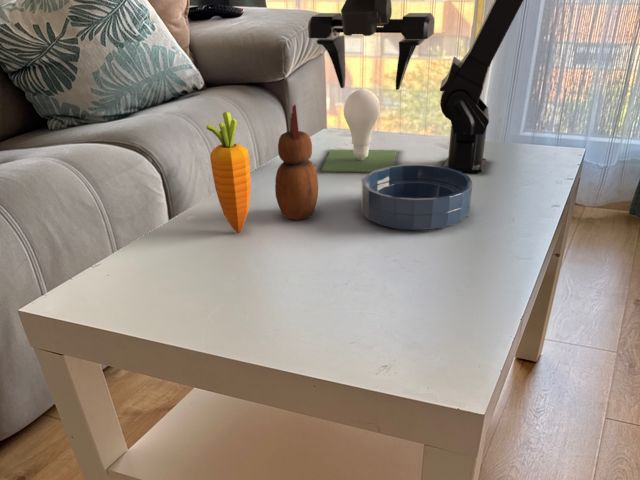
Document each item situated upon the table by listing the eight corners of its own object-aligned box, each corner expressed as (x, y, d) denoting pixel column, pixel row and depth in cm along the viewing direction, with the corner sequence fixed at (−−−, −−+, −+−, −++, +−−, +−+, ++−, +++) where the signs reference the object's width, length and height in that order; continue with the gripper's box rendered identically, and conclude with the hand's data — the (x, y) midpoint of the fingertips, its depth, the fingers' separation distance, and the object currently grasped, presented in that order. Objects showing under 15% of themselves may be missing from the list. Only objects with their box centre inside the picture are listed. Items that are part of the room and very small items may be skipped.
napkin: (330, 151, 116) (330, 149, 116) (396, 152, 115) (396, 150, 115) (321, 171, 107) (321, 170, 107) (392, 172, 106) (392, 171, 105)
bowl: (375, 191, 99) (376, 161, 96) (474, 199, 95) (478, 168, 92) (349, 227, 88) (349, 194, 85) (459, 237, 84) (463, 203, 81)
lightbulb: (384, 157, 111) (387, 88, 105) (367, 167, 107) (369, 95, 101) (354, 153, 114) (355, 85, 107) (336, 162, 110) (336, 91, 103)
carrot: (241, 242, 85) (228, 121, 75) (212, 235, 87) (196, 116, 77) (263, 229, 88) (253, 111, 78) (235, 223, 90) (221, 108, 81)
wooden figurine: (313, 225, 89) (308, 108, 79) (273, 223, 90) (264, 107, 80) (322, 208, 94) (319, 96, 84) (284, 206, 95) (277, 95, 85)
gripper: (292, -25, 89) (298, 97, 99) (424, -27, 84) (416, 101, 94) (317, -31, 97) (321, 83, 107) (438, -33, 93) (430, 86, 102)
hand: (369, 88), depth 102 cm, fingers open, 9 cm apart
